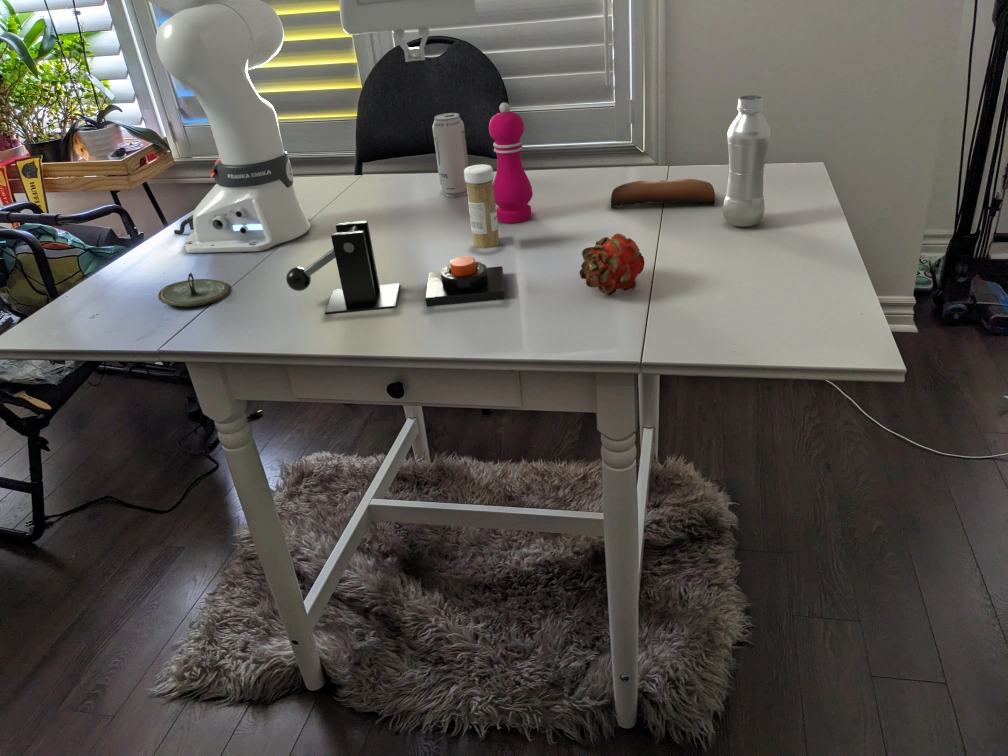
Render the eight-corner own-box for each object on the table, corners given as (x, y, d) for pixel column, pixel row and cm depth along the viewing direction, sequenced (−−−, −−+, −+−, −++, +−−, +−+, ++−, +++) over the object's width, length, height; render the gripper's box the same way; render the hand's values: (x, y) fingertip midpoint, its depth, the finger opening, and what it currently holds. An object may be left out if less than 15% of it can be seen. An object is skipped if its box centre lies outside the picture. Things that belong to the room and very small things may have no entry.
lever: (295, 299, 114) (278, 281, 113) (300, 289, 117) (284, 272, 116) (365, 248, 111) (349, 229, 109) (368, 239, 114) (353, 220, 112)
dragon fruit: (594, 318, 110) (618, 293, 120) (644, 286, 105) (665, 264, 116) (559, 266, 109) (586, 246, 119) (608, 232, 105) (632, 214, 115)
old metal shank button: (156, 313, 125) (140, 288, 122) (206, 276, 130) (191, 251, 126) (194, 331, 119) (177, 305, 116) (244, 292, 124) (230, 266, 120)
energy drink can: (439, 191, 162) (428, 115, 154) (468, 186, 163) (459, 110, 155) (444, 199, 157) (433, 121, 149) (474, 194, 158) (465, 116, 150)
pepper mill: (542, 216, 143) (534, 101, 133) (509, 227, 140) (498, 109, 130) (519, 208, 148) (509, 96, 138) (486, 218, 145) (474, 104, 135)
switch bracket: (326, 320, 114) (308, 241, 108) (335, 296, 121) (318, 221, 115) (396, 313, 113) (382, 234, 107) (401, 290, 120) (388, 214, 114)
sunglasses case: (712, 189, 146) (714, 163, 140) (713, 219, 143) (716, 194, 137) (612, 193, 149) (610, 168, 143) (611, 223, 146) (609, 198, 140)
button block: (427, 312, 113) (423, 286, 111) (431, 286, 121) (427, 261, 119) (505, 305, 113) (502, 278, 111) (503, 279, 120) (501, 254, 118)
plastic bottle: (748, 214, 134) (756, 90, 124) (772, 226, 129) (782, 97, 119) (714, 221, 133) (719, 97, 123) (736, 234, 127) (744, 104, 117)
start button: (451, 278, 113) (449, 267, 112) (451, 268, 116) (450, 257, 115) (476, 276, 113) (475, 264, 112) (476, 266, 116) (475, 255, 115)
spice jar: (506, 248, 131) (498, 166, 125) (482, 255, 129) (473, 173, 123) (491, 241, 135) (482, 161, 128) (467, 248, 133) (458, 168, 126)
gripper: (473, -50, 118) (483, 50, 125) (336, -35, 119) (353, 63, 126) (472, -48, 113) (483, 56, 120) (329, -33, 113) (347, 70, 120)
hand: (415, 60), depth 123 cm, fingers closed
